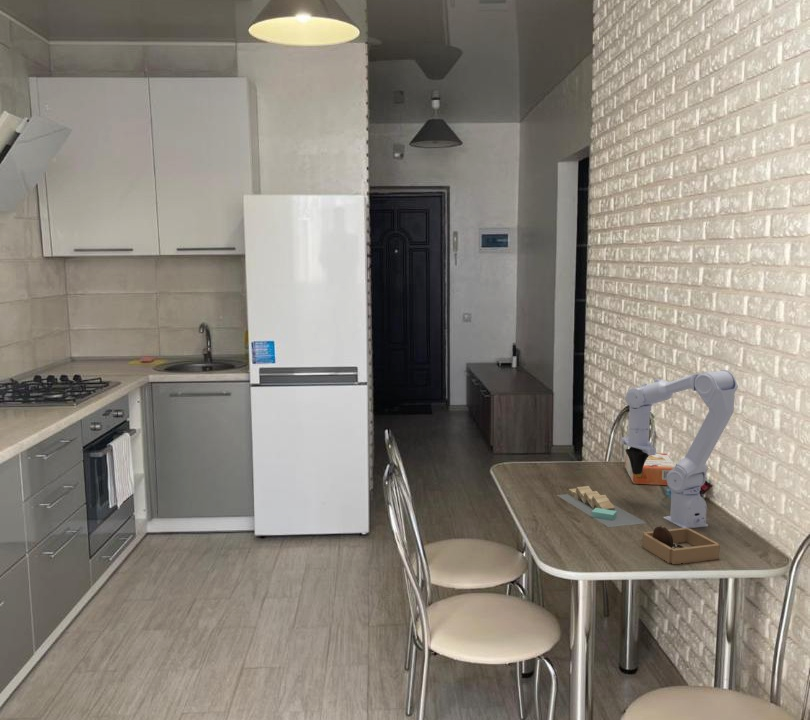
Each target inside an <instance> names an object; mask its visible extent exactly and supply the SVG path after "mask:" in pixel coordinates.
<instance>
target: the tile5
mask: <svg viewBox="0 0 810 720" xmlns="http://www.w3.org/2000/svg"><path fill="white" fill-rule="evenodd" d="M576 488H577V487H576ZM576 488H568V492H567V494H569V495H571V496H572V497H574V498H576V499H577V500H582V499H581V498H580V497H579V495H578V494H577V493H576Z"/></svg>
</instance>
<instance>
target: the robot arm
mask: <svg viewBox="0 0 810 720" xmlns="http://www.w3.org/2000/svg"><path fill="white" fill-rule="evenodd" d="M738 387H739V385H738V383H737V380H736V378H735V375H734V373H732V372H731V371H730V370H726V369H721V370H718V371H709V372H699V373H692V374H691V373H690V374H689V375H687V376H686V375H685V376H683V377H681V378H678V379H675V380H673V381H670V382H669V381H667V380H665V379H662V378H656V379H654V382H652V383H648V384H647V383H643V384H641V386H640V387H632V388H630V389H629V390H627V392H626V394H625V401H626V404H627V406H629V411H628V412H629V413H628V415H629V416H628V434H627V435H628V436H625V437H621V445H623V446H625V445H626V446H628V447H630V448H627V449H625V454H626V453H627V455H628V457H629V460H630V463H631V468H632V472H633V474H641V472H642V469H643V466H644V463H645V461H646V459H647V458H648V456H649V455H655V453H657V452H656V451H657V449H656V448H655V447H653V446H652V442H650V441H649V438H650V436H649V435H650V419H651V418H650V417H651V412H652V406H653V405H654V404H658V403H661V402H664V401H668V400H670V399H671V398H672V397H673V395H674V394H676V393H680V392H682V391H686V390H692V391H693V392H695V391H696V392H697V394H698V396H699V397H700V398H701V400H702V401H703V403H704V404H705V405H706V407H707V408H708V412H707V414H706V416H705V418H704V420H703V422H702V423H701V425H700V428H699V430H698V431H697V433H696V436H695V437H694V439H693V441H692V442H691V444H690V447H689V448H688V451H687V452H686V455H685V456H684V457H683V458H682V459H681V460H679V461H678V462H677V463H676V464H675V467H674V469H672V470H670V471H669V472H668V474H667V477H666V480H667V484H668V485H667V487H668V488H669V489H670V492H671V495H670V515H668V516H663V519H665V520H666V521H668V522H670V523H672V524H674V525H676V526H678V527H679V528H688V529H693V528H704V527H709V524H708V523H706V521H707V508H708V506H707V502H706V500H705V499H704V498H703V497H702V496H701V494H700V491H701V487H703V486H704V485H705V483H706V481H707V480H706V479H707V478H706V477H707V476H706V475H707V472H708V470H709V468H708V466H707V465H706V463H707V462H708V460H709V458H710V457H711V454H712V452H713V451H714V448H715V447H716V445H717V443H718V442H719V439H720V438H721V436H722V434H723V433H724V431H725V429H726V427H727V424H728V423H729V421H730V419H731V417H732V416H733V413H734V410H735V394H736V392H737V389H738Z"/></svg>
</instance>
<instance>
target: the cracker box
mask: <svg viewBox="0 0 810 720" xmlns="http://www.w3.org/2000/svg"><path fill="white" fill-rule="evenodd" d="M624 461H625V462H624V467H625V470H626V472H627V474H628V476H629V477H630V480H631V482H632V483H633V484H634V485H635V484H636V485H639V484H640V485H653V486H654V485H655V486H668V484H667V480H666V477H667V474H668V472H669V471H670V470H672V469H674V467H675V466H676V464H675V463H674V461H672V459H671V458H670V456H669V455H668V453H664V452H662V453H661V452H658V453H657V452H656V453H655V455H649V456H648V458H647V459H646V461H645V463H644V466H643V469H642V472H641V474H633V472H632V468H631V463H630V460H629V457H628V455H627V453H626V452H625V460H624Z"/></svg>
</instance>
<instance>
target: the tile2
mask: <svg viewBox="0 0 810 720" xmlns="http://www.w3.org/2000/svg"><path fill="white" fill-rule="evenodd" d="M592 501H593V503H594V504H595V506H596V507H597V508H601V509H607V510H613V511H614V510H615V507H614V506H613V504H614V503H612V502H611V500H610V499H609V498H608V496H607V495H606V494H600V495H596V496H593V497H592Z"/></svg>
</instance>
